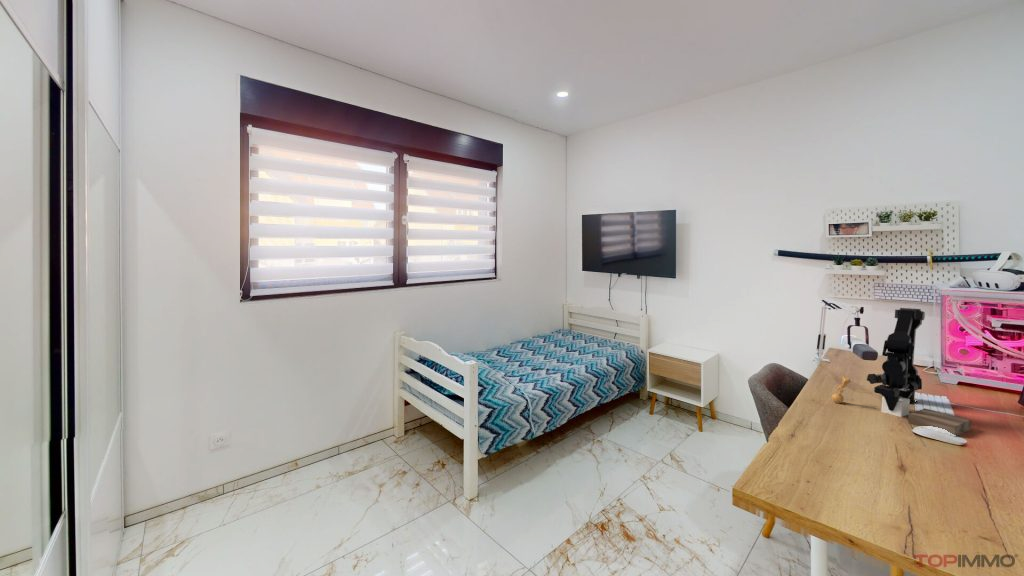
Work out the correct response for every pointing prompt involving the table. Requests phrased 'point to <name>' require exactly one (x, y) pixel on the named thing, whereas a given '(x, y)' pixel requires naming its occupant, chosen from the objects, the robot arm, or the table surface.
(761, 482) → the table surface
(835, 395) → the figurine
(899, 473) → the table surface
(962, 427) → the walnut slab
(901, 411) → the off-white cube
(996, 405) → the table surface
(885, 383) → the robot arm
